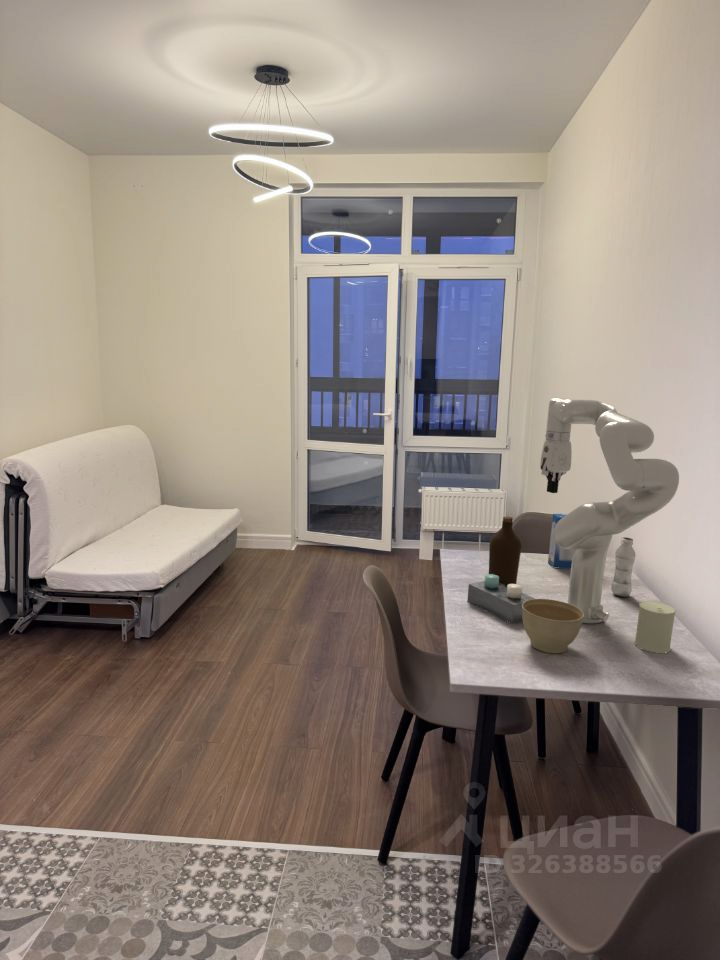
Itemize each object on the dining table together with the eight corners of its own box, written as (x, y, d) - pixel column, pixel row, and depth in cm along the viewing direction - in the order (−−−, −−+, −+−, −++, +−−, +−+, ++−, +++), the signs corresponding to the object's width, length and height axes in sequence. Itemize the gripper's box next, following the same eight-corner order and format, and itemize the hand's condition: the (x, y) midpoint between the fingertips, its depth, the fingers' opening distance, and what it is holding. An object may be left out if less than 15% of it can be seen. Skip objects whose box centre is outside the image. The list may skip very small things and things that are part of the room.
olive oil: (493, 593, 216) (499, 521, 211) (481, 583, 226) (487, 513, 222) (522, 592, 218) (529, 521, 214) (509, 582, 228) (515, 513, 224)
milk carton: (572, 563, 254) (577, 514, 251) (578, 568, 248) (584, 518, 245) (547, 563, 254) (552, 513, 250) (553, 567, 247) (558, 517, 244)
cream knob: (522, 615, 197) (525, 587, 195) (512, 618, 194) (514, 589, 193) (512, 610, 200) (514, 583, 199) (501, 612, 198) (504, 585, 196)
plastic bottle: (615, 598, 217) (622, 541, 213) (607, 591, 223) (613, 535, 220) (634, 599, 217) (641, 541, 213) (625, 592, 223) (632, 536, 220)
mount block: (535, 618, 196) (537, 599, 195) (512, 624, 191) (513, 604, 190) (490, 597, 212) (491, 579, 211) (467, 601, 207) (468, 583, 206)
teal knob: (499, 604, 205) (502, 577, 203) (489, 606, 203) (491, 579, 201) (490, 600, 209) (492, 573, 207) (479, 602, 206) (482, 575, 205)
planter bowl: (573, 665, 165) (577, 625, 164) (511, 649, 173) (515, 611, 171) (584, 643, 179) (589, 606, 177) (527, 629, 187) (530, 594, 185)
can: (639, 651, 176) (645, 610, 173) (630, 638, 185) (635, 598, 182) (675, 655, 174) (681, 613, 172) (664, 641, 183) (669, 601, 181)
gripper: (551, 438, 201) (545, 496, 205) (582, 437, 209) (576, 492, 213) (532, 435, 208) (527, 491, 211) (564, 434, 216) (558, 488, 219)
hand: (552, 492), depth 212 cm, fingers closed
